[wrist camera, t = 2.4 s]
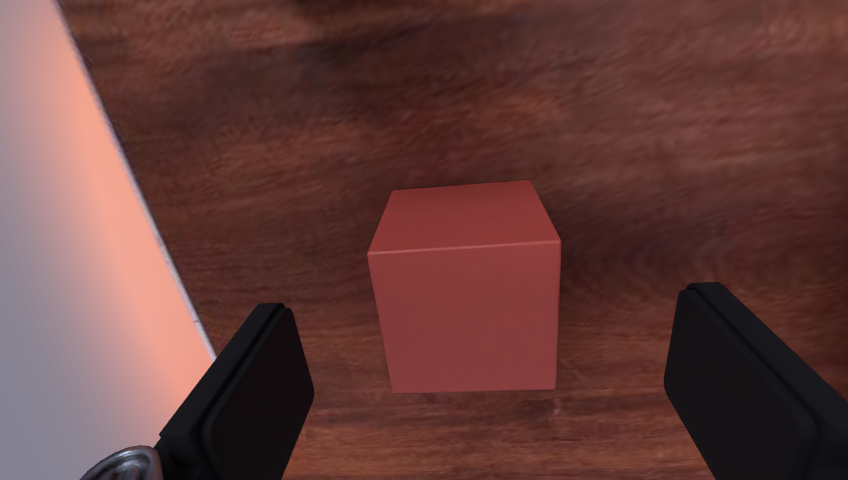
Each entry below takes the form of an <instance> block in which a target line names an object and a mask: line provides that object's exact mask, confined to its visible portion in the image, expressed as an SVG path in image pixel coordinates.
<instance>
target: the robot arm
mask: <svg viewBox="0 0 848 480" xmlns="http://www.w3.org/2000/svg"><path fill="white" fill-rule="evenodd" d="M664 388H665V391H666V394H667V396H668V398H669V400H670V401H671V403H672V405H673V406H674V408H675V410H676V412H677V413H678V415H679V417H680V419H681V420H682V422H683V424H684V425H685V427H686V429H687V431H688V432H689V434H690V436H691V438H692V439H693V441H694V443H695V445H696V446H697V448H698V450H699V451H700V453H701V455H702V457H703V458H704V460H705V462H706V464H707V465H708V467H709V469H710V470H711V472H712V474H713V476H714V477H715V479H716V480H848V402H847V401H846V400H845V399H843V398H842V397H841V396H840V395H839V394H838V393H837V392H836V391H835V390H834V389H833V388H832V387H831V386H830V385H829V384H828V383H826V382H825V381H824V380H823V379H822V378H821V377H820V376H819V375H818V374H817V373H816V372H815V371H814V370H813V369H812V368H811V367H809V366H808V365H807V364H806V363H805V362H804V361H803V360H802V359H801V358H800V357H799V356H798V355H797V354H796V353H795V352H794V351H792V350H791V349H790V348H789V347H788V346H787V345H786V344H785V343H784V342H783V341H782V340H781V339H780V338H779V337H778V336H777V335H775V334H774V333H773V332H772V331H771V330H770V329H769V328H768V327H767V326H766V325H765V324H764V323H763V322H762V321H761V320H760V319H758V318H757V317H756V316H755V315H754V314H753V313H752V312H751V311H750V310H749V309H748V308H747V307H746V306H745V305H744V304H743V303H741V302H740V301H739V300H738V299H737V298H736V297H735V296H734V295H733V294H732V293H731V292H730V291H729V290H728V289H727V288H726V287H724V286H723V285H722V284H721V283H719V282H707V283H691V284H689V285H688V286H687V288H686V290H681V291H680V292H679V295H678V300H677V305H676V311H675V317H674V323H673V328H672V334H671V340H670V346H669V351H668V357H667V363H666V369H665V375H664ZM313 398H314V387H313V383H312V380H311V376H310V373H309V369H308V365H307V362H306V358H305V355H304V351H303V348H302V344H301V341H300V337H299V333H298V330H297V326H296V323H295V319H294V316H293V312H292V310H291V309H290V308H286V307H285V305H284V304H283V303H261V304H258V305H257V306H256V307H255V309H254V310H253V311H252V312H251V314H250V315H249V316H248V318H247V319H246V320H245V322H244V323H243V324H242V326H241V327H240V328H239V330H238V331H237V332H236V334H235V335H234V336H233V337H232V339H231V340H230V341H229V343H228V344H227V345H226V347H225V348H224V349H223V351H222V352H221V353H220V355H219V356H218V357H217V358H216V360H215V361H214V362H213V364H212V365H211V366H210V368H209V369H208V370H207V372H206V373H205V374H204V376H203V377H202V378H201V380H200V381H199V382H198V384H197V385H196V386H195V387H194V389H193V390H192V391H191V393H190V394H189V395H188V397H187V398H186V399H185V401H184V402H183V403H182V405H181V406H180V407H179V408H178V410H177V411H176V412H175V414H174V415H173V416H172V418H171V419H170V420H169V422H168V423H167V424H166V426H165V427H164V428H163V430H162V431H161V432H160V433H159V435H160V437H161V438H160V440H159V441H158V442H157V444H156V445H155V446H154V448H152V447H150V446H142V445H139V446H134V447H128V448H125V449H123V450H120V451H118V452H115V453H114V454H112V455H110V456H108V457H107V458H105V459H103V460H101V461H100V462H99V463H97V464H96V465H95V466H94V467H92V468H91V469H90V470H88V471H87V472H86V473H85V474H84V476H83V477H82V478H81V479H80V480H281V479H282V476H283V474H284V471H285V469H286V466H287V464H288V461H289V459H290V456H291V454H292V452H293V449H294V447H295V444H296V442H297V439H298V437H299V434H300V432H301V429H302V427H303V424H304V422H305V419H306V417H307V415H308V412H309V410H310V407H311V405H312V402H313Z"/></svg>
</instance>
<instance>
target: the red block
mask: <svg viewBox="0 0 848 480" xmlns="http://www.w3.org/2000/svg"><path fill="white" fill-rule="evenodd" d="M561 247H562V242H561V240H560V238H559V236H558V234H557V232H556V230H555V228H554V226H553V224H552V222H551V220H550V218H549V216H548V214H547V212H546V210H545V208H544V206H543V204H542V202H541V200H540V198H539V196H538V194H537V192H536V190H535V188H534V186H533V184H532V182H531V180H519V181H506V182H493V183H481V184H468V185H455V186H443V187H430V188H417V189H405V190H394V191H392V193H391V195H390V198H389V200H388V203H387V205H386V208H385V210H384V213H383V215H382V218H381V220H380V223H379V225H378V228H377V230H376V233H375V235H374V238H373V240H372V243H371V245H370V248H369V250H368V253H367V257H368V262H369V268H370V273H371V279H372V284H373V289H374V295H375V300H376V306H377V311H378V317H379V322H380V328H381V333H382V338H383V344H384V349H385V355H386V360H387V366H388V371H389V377H390V382H391V387H392V392H393V393H394V394H401V393H437V392H474V391H510V390H546V389H555V388H556V379H557V352H558V326H559V299H560V273H561Z"/></svg>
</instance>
